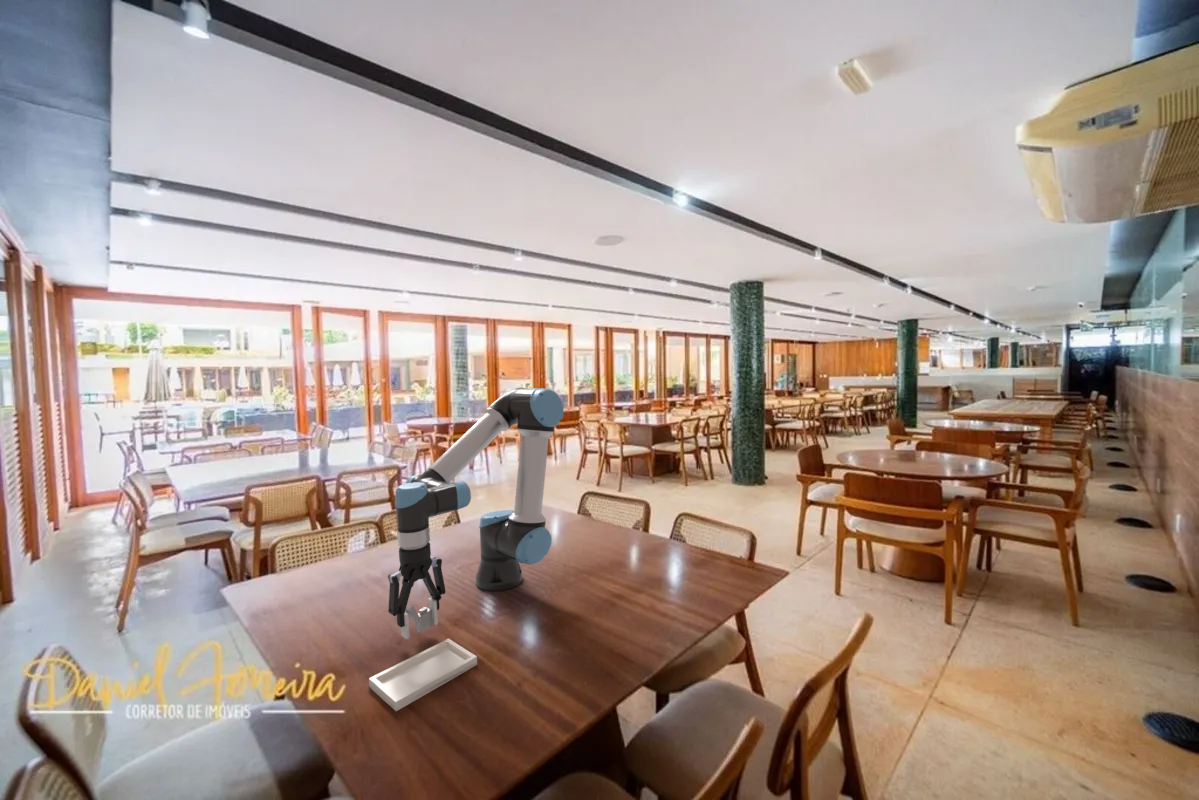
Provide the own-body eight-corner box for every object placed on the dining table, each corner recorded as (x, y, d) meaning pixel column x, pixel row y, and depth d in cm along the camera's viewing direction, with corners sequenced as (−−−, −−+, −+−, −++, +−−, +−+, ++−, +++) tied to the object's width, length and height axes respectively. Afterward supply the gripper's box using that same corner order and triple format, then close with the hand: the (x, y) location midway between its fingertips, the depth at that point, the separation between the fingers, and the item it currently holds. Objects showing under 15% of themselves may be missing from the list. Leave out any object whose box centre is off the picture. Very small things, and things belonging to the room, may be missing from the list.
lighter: (428, 623, 127) (426, 594, 126) (432, 624, 126) (431, 595, 125) (406, 637, 120) (404, 607, 120) (411, 639, 120) (409, 608, 119)
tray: (448, 646, 121) (448, 638, 121) (477, 664, 113) (476, 656, 113) (369, 687, 105) (368, 678, 105) (396, 711, 98) (395, 702, 98)
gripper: (441, 529, 131) (446, 608, 133) (367, 553, 116) (374, 643, 118) (457, 535, 126) (461, 617, 128) (382, 561, 111) (389, 654, 113)
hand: (419, 629), depth 123 cm, fingers closed on lighter, 7 cm apart
